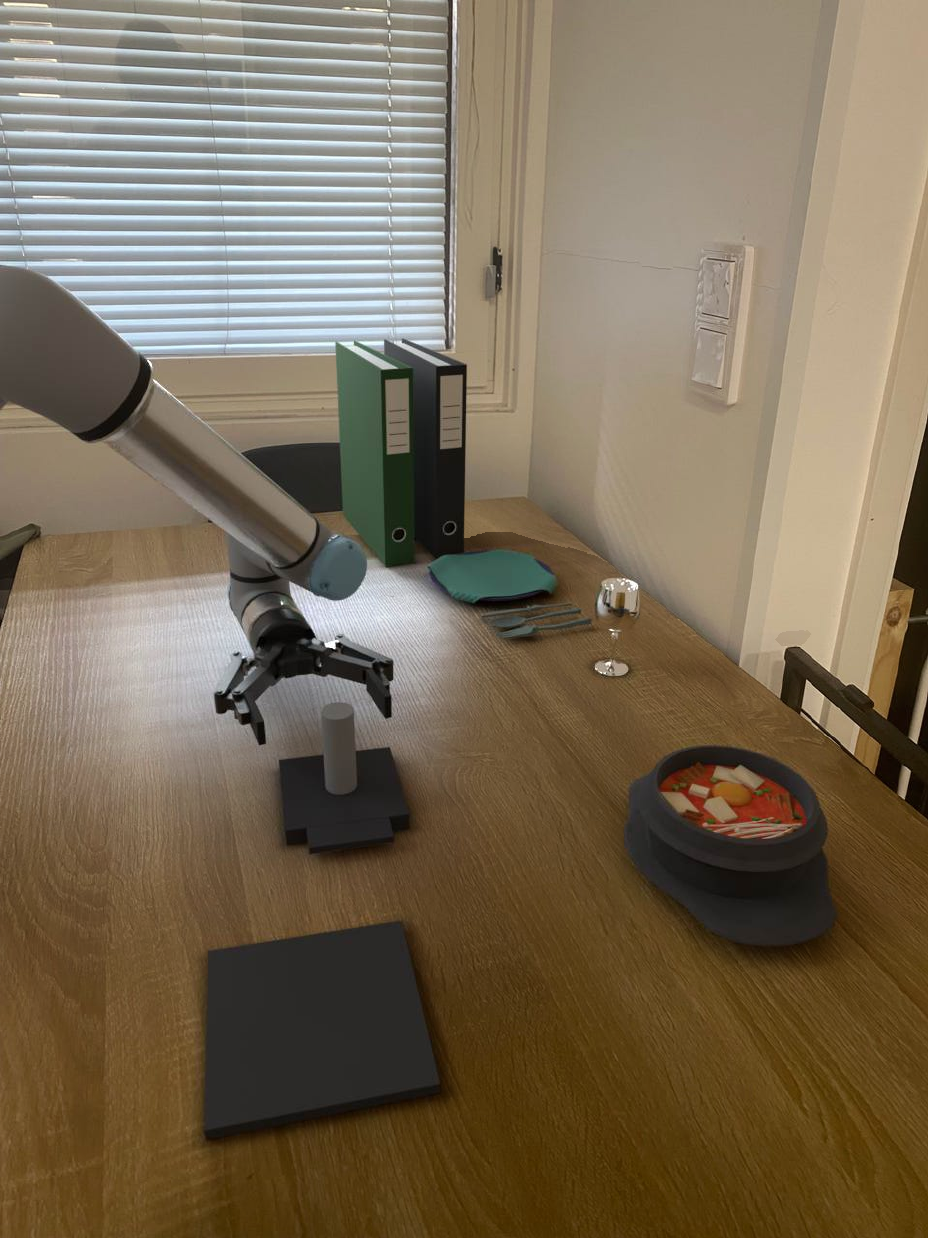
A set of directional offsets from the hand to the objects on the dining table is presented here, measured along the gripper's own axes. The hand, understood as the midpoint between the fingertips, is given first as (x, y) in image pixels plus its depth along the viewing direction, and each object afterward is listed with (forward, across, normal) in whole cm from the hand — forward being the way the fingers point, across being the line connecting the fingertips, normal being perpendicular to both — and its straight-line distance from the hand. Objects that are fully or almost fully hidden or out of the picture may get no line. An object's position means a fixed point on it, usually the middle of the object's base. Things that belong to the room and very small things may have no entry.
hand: (326, 720), depth 95 cm
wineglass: (-9, -41, -7) cm, 43 cm away
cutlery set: (-35, -38, -7) cm, 52 cm away
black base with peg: (+6, 0, -7) cm, 9 cm away
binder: (-67, -32, -7) cm, 74 cm away
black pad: (+30, +10, -7) cm, 33 cm away
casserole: (+28, -30, -7) cm, 42 cm away
